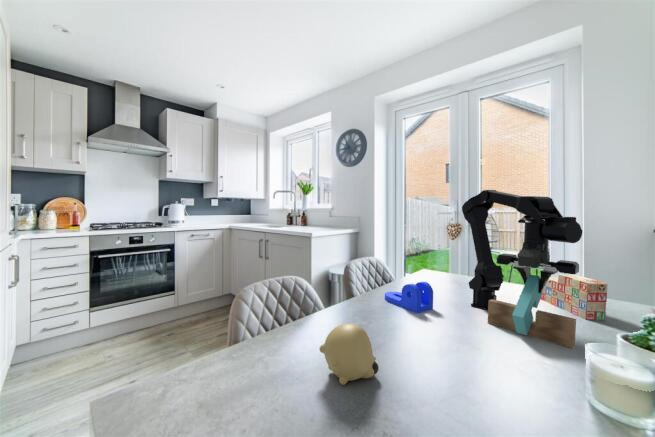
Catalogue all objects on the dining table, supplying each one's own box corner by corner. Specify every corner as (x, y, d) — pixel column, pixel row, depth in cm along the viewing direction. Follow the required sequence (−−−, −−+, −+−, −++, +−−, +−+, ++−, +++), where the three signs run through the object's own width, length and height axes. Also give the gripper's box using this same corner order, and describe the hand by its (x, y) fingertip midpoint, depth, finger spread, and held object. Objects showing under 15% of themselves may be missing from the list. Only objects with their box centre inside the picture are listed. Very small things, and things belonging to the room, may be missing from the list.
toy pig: (361, 407, 53) (397, 362, 56) (325, 371, 49) (364, 326, 52) (339, 377, 62) (370, 340, 65) (306, 345, 58) (341, 307, 61)
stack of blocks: (539, 299, 111) (540, 268, 111) (555, 299, 111) (556, 269, 110) (586, 320, 90) (587, 282, 89) (606, 321, 89) (608, 283, 89)
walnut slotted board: (487, 323, 86) (488, 300, 85) (490, 321, 87) (491, 299, 87) (573, 348, 70) (574, 321, 70) (575, 345, 72) (576, 318, 72)
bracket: (432, 309, 97) (433, 284, 97) (416, 313, 93) (417, 287, 93) (395, 295, 113) (396, 273, 113) (380, 298, 108) (380, 275, 108)
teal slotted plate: (532, 291, 85) (529, 274, 82) (542, 293, 83) (539, 276, 80) (516, 332, 77) (512, 314, 74) (527, 335, 75) (523, 317, 72)
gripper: (490, 237, 83) (488, 289, 84) (572, 244, 69) (569, 306, 69) (503, 236, 90) (502, 283, 91) (580, 241, 76) (578, 298, 76)
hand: (533, 292), depth 82 cm, fingers closed on teal slotted plate, 2 cm apart
